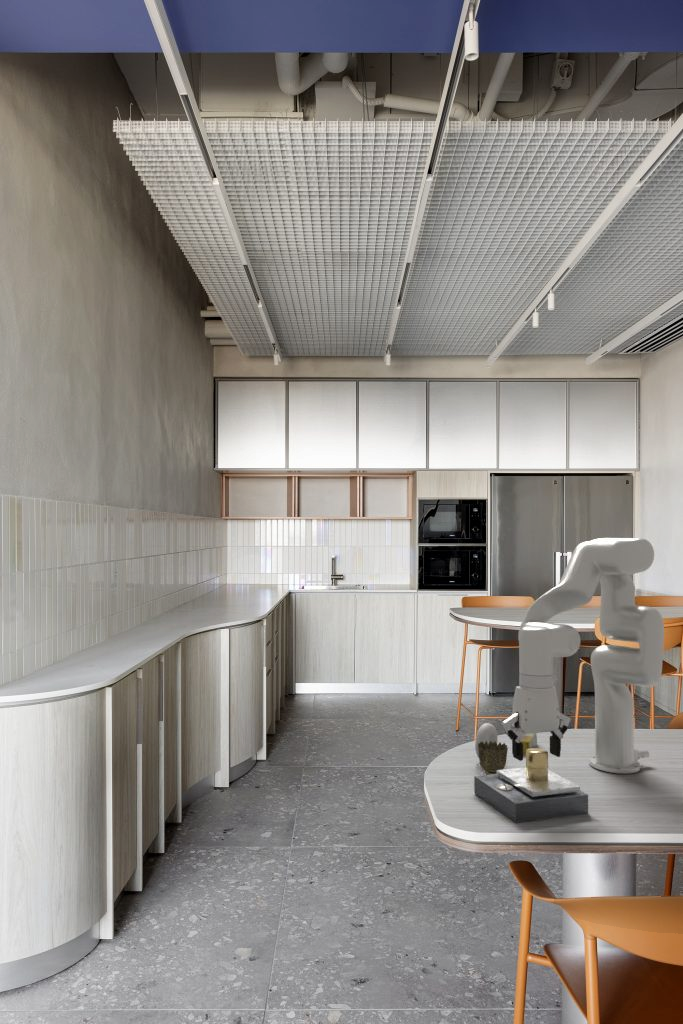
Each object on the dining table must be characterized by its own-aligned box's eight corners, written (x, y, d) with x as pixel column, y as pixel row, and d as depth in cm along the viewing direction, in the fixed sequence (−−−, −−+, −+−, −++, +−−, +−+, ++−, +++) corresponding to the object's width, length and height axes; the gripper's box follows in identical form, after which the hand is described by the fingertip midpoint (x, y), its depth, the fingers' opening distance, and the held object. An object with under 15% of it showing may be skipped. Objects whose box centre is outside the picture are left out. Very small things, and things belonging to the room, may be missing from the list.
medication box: (527, 743, 207) (527, 729, 207) (537, 744, 206) (536, 730, 206) (520, 755, 196) (519, 740, 196) (530, 756, 195) (529, 741, 195)
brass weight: (540, 773, 163) (540, 747, 164) (552, 780, 159) (552, 753, 159) (522, 775, 162) (521, 749, 162) (533, 782, 157) (533, 755, 158)
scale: (540, 785, 171) (540, 766, 171) (588, 813, 154) (588, 792, 154) (474, 793, 165) (474, 774, 166) (515, 823, 148) (515, 801, 148)
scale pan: (540, 769, 169) (540, 765, 169) (579, 791, 155) (579, 786, 155) (496, 774, 166) (496, 770, 166) (532, 796, 151) (532, 792, 151)
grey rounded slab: (485, 766, 185) (485, 728, 185) (473, 764, 187) (472, 726, 187) (499, 757, 193) (499, 720, 193) (487, 755, 195) (487, 718, 195)
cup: (508, 783, 173) (508, 750, 173) (477, 780, 174) (477, 748, 174) (507, 773, 180) (507, 741, 180) (477, 771, 181) (477, 739, 182)
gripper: (559, 676, 167) (559, 749, 167) (494, 680, 162) (494, 755, 161) (578, 682, 160) (579, 758, 160) (511, 686, 155) (512, 765, 154)
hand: (536, 757), depth 160 cm, fingers open, 9 cm apart
